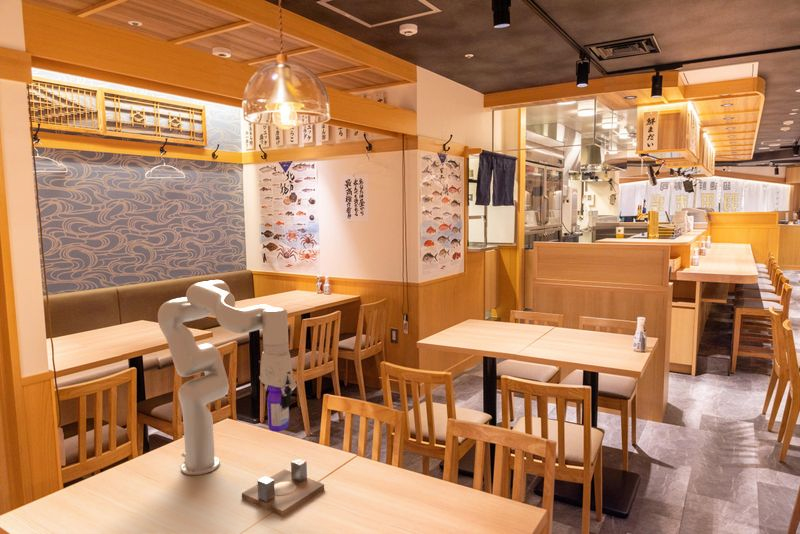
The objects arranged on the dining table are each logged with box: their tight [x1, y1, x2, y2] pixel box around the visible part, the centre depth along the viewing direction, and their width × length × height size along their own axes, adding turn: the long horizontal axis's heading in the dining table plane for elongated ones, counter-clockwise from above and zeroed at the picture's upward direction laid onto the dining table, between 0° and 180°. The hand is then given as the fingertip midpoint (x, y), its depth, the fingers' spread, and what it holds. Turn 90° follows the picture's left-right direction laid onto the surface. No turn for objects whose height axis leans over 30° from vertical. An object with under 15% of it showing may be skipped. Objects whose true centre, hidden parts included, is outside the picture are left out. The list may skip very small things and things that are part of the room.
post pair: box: [256, 458, 308, 503], centre depth 169 cm, size 4×17×6 cm, turn 146°
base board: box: [241, 468, 325, 518], centre depth 170 cm, size 18×18×2 cm
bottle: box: [266, 385, 290, 433], centre depth 166 cm, size 7×6×17 cm
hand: (278, 404), depth 166 cm, fingers closed on bottle, 6 cm apart
